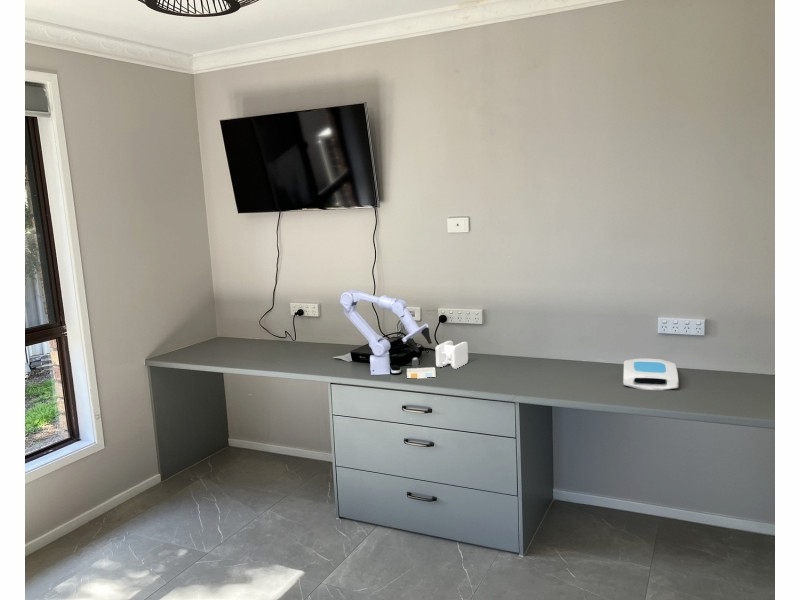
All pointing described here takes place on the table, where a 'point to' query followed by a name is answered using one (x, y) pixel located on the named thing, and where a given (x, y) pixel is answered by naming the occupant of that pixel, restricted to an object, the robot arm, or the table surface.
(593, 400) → the table surface
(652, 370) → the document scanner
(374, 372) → the robot arm
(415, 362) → the plug
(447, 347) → the cable organizer
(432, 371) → the white printed box
